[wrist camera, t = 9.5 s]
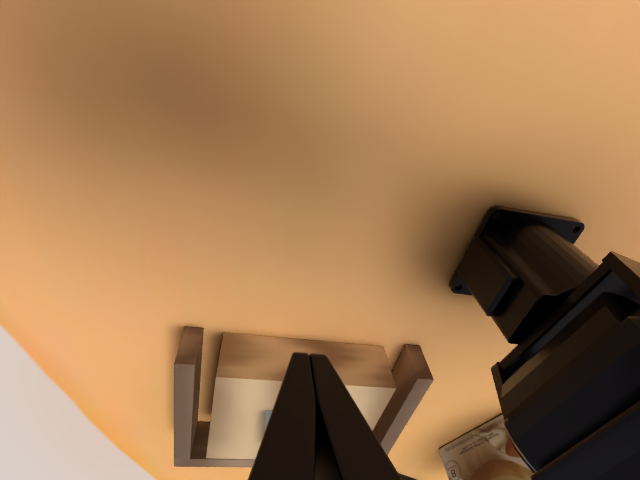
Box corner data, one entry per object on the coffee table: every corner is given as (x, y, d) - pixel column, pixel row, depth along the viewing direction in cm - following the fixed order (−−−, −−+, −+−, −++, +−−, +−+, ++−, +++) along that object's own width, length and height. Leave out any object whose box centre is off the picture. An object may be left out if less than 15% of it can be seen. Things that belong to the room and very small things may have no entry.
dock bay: (419, 345, 28) (433, 379, 25) (372, 434, 34) (379, 468, 32) (185, 326, 24) (174, 363, 22) (182, 429, 31) (173, 466, 28)
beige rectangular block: (382, 342, 28) (396, 388, 24) (347, 414, 33) (355, 461, 30) (224, 328, 25) (215, 377, 22) (214, 408, 30) (206, 458, 27)
